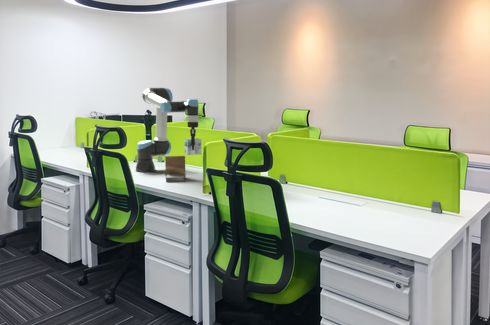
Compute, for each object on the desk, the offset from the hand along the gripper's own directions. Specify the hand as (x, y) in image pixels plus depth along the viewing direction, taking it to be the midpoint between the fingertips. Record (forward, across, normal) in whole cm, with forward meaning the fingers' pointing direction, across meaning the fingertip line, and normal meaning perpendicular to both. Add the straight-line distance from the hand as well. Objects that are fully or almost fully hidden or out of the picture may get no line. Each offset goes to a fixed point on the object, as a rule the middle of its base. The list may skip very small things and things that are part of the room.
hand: (193, 153), depth 309 cm
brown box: (+19, 0, -13) cm, 22 cm away
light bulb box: (+1, 0, 0) cm, 1 cm away
